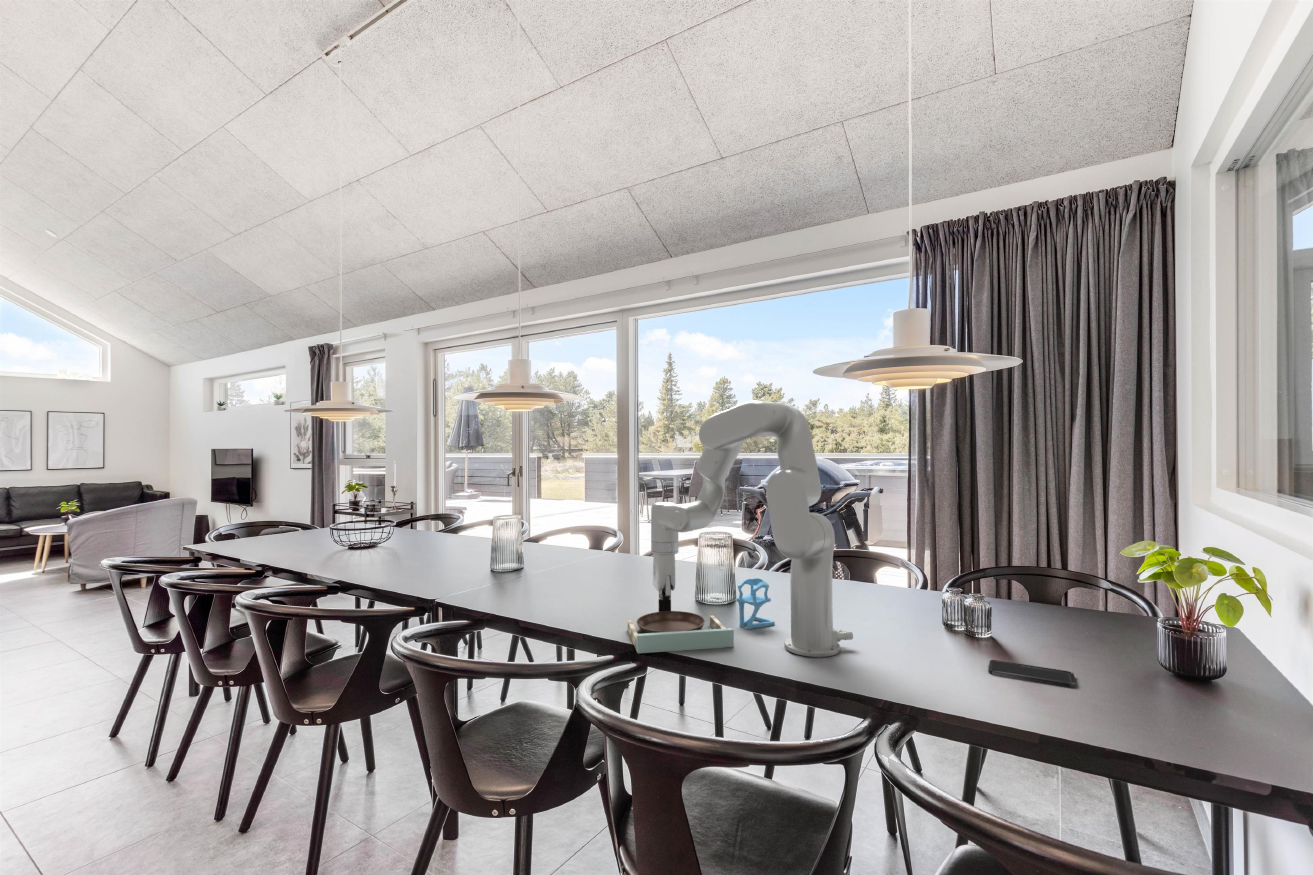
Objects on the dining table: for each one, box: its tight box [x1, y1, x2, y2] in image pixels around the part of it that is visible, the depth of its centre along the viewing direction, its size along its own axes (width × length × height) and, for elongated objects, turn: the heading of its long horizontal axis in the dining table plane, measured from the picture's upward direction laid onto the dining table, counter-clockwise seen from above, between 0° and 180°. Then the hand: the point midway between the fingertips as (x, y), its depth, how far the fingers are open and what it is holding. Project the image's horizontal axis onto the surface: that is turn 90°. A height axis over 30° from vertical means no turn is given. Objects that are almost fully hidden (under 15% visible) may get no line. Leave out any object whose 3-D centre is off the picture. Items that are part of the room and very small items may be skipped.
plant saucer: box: [636, 610, 706, 634], centre depth 158 cm, size 18×18×3 cm
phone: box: [987, 659, 1076, 689], centre depth 126 cm, size 8×1×15 cm
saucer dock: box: [627, 615, 735, 654], centre depth 152 cm, size 18×23×4 cm
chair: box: [735, 578, 776, 630], centre depth 163 cm, size 8×8×12 cm
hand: (664, 613), depth 169 cm, fingers closed
